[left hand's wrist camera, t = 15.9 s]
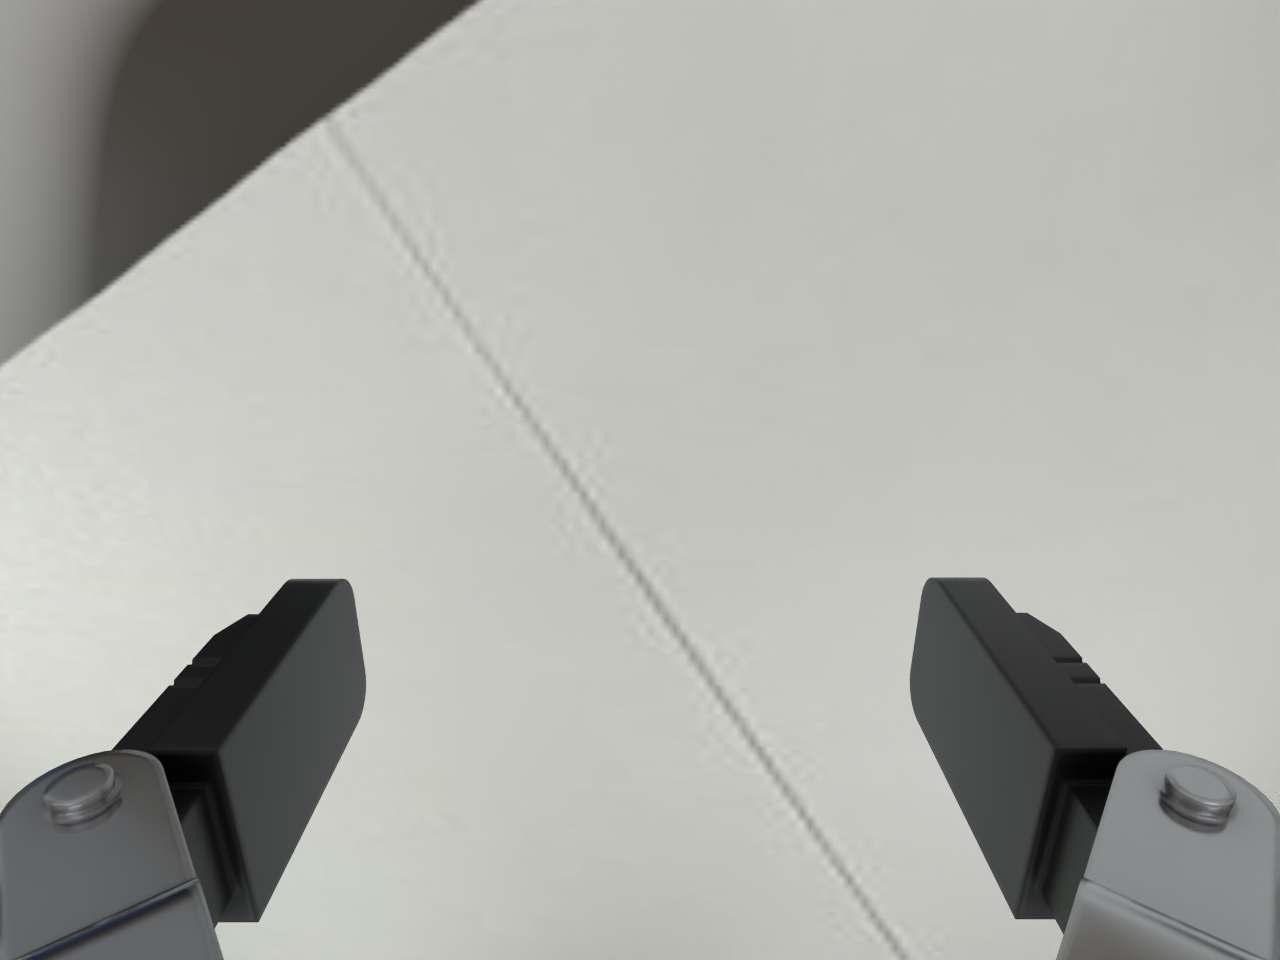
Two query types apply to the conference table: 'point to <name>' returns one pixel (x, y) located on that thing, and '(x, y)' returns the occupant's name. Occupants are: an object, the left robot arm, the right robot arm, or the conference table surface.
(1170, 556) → the conference table surface
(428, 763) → the conference table surface
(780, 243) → the conference table surface
